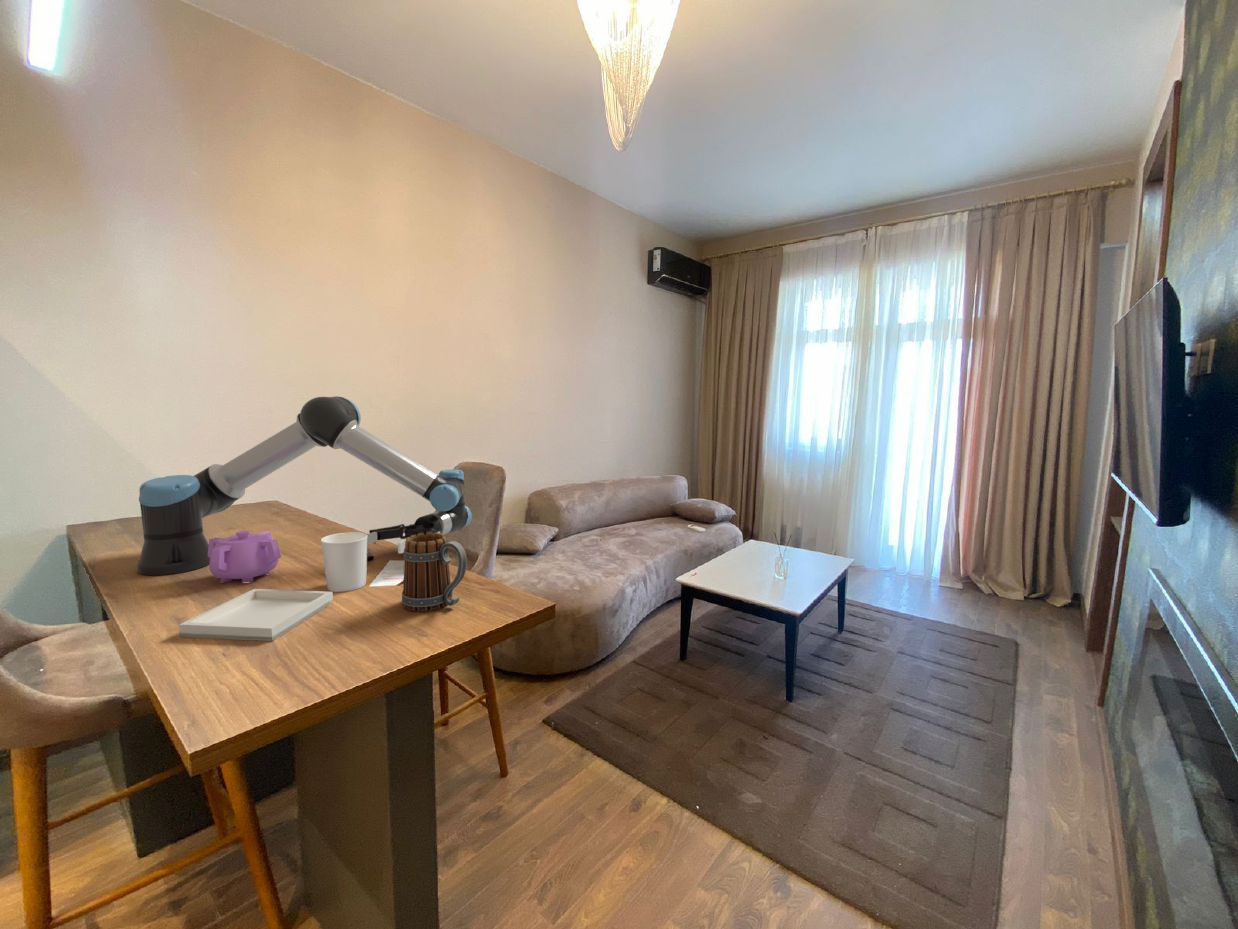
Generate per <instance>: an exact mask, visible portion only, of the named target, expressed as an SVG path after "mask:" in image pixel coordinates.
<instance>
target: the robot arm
mask: <svg viewBox="0 0 1238 929" xmlns="http://www.w3.org/2000/svg"><path fill="white" fill-rule="evenodd" d="M361 418H362V417H361V412H360V409H359V408H358V406H357V405H356V404H355V403H354V402H353V401H352V400H350V399H348V398H345V397H343V396H337V395H336V396H318V397H314V398H312V399H309V400H308V401H307V402H305V404H304V405H303V406H302V408H301V409H300V413H298V414H297V415H296V421H295V422H294V423H292V424H290V425H288V426H287V427H285V428H284V429H282V430H280V431H278V432H277V433H275V434H273V435H271V436H270V437H268V438H267V439H265V440H263V441H262V442H260V443H258V444H257V445H255V446H253V447H251V448H250V449H248V450H247V451H244V452H243V453H241V454H240V455H237V456H236V457H234V458H233V459H231V460H229V461H228V462H226V463H225V464H219V463H215V464H211V465H210V466H208V467H206V468H205V469H203V470H201V471H199V472H198V473H196V474H195V475H191V474H177V475H166V476H164V477H163V476H162V477H155V478H152V479H149V480H147V481H144V482H143V483H142V484H141V485H140V486H139V490H138V492H139V496H138V502H139V506H140V515H141V523H142V532H143V545H142V548H141V551H140V552H141V553H140V556H139V559H138V561H137V564H136V565H137V572H138V573H139V574H140V575H144V576H163V575H171V574H179V573H184V572H189V571H193V570H197V569H201V568H203V567H206V566H208V565H209V566H210V558H209V557H208V547H209V541H208V540H207V538H206V537H205V535H204V534H205V533H204V529H203V525H204V524H203V518H205V517H209V516H211V515H214V514H217V513H222V512H223V511H225V510H227V509H228V508H229V507H231V506H232V505H233V504H234V503H235V502H236V501H238V500H239V499H242V498H243V497H244V496H245V493H246V489H247V488H249V487H251V486H252V485H254V484H256V483H257V482H259V481H261V480H262V479H264V478H265V477H267V476H269V475H271V474H273V473H274V472H276V471H277V470H279V469H280V468H282V467H285V465H287V464H290V462H292V461H294V460H296V459H297V458H299V457H301V456H303V455H304V454H305V453H307V452H309V451H310V450H312V449H314V448H315V447H321V448H326V447H327V446H328V447H330V448H332V449H333V450H339V449H341V450H342V451H345V453H346V452H347V453H348V454H350V456H353V457H355V458H357V459H358V460H360V461H361V462H363V463H364V464H366V465H368V466H369V467H371V468H373V469H375V470H376V471H378V472H380V473H382V474H383V475H385V476H387V477H388V478H389V479H391V480H393V481H395V482H397V483H398V484H400V485H402V486H403V487H405V488H406V489H409V490H410V491H411V492H414V493H415V494H417V495H418V496H420V497H421V498H424V499H425V500H427V501H428V502H430V505H431V506H432V507H433V508H434V509H435V510H436V511H435V512H434V511H433V512H432V513H429V514H425V515H423V516H419V517H418V518H417V519H416V520H415V521H414V523H413V524H408V525H405V523H402V524H398V525H391V526H388V527H387V526H386V527H381V528H375V529H369V530H368V531H369V533H367V535H368V538H367V546H369V545H371V544H377V542H378V541H384V540H391V539H392V540H393V539H400V540H402V541H399V542H398V543H397V554H404V549H405V541H406V538H407V537H410V536H412V535H416V536H417V534H421V533H424V534H425V535H426V533H433V534H435V533H440V534H443V535H444V536H445V535H448V534H451V533H455V532H458V531H460V530H462V529H464V528H465V527H467V526H469V525H470V524H471V522H472V518H473V514H472V512H471V509H470V508H469V506H467V505H466V502H465V477H464V476H465V475H464V470H461V469H443V470H441V471H439V472H438V474H437V473H435V472H434V471H432V470H430V469H429V468H427V467H425V466H424V465H422V464H420V463H419V462H417V461H416V460H415V459H413V458H411V457H410V456H408V455H406V454H405V453H403V452H401V451H399V450H398V449H396V448H395V447H393V446H392V445H390V444H388V443H387V442H385V441H384V440H382V439H380V438H379V437H377V436H375V435H373V434H372V433H370V432H369V431H367V430H365V429H363V428H362V427H360V424H361Z"/></svg>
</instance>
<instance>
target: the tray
mask: <svg viewBox="0 0 1238 929" xmlns="http://www.w3.org/2000/svg"><path fill="white" fill-rule="evenodd" d="M333 593H334V592H333V591H322V590H321V591H320V590H319V591H318V590H299V589H298V590H297V589H296V590H294V589H272V588H271V589H269V588H268V589H267V588H253V589H252V590H249V591H246V592H244V593H242V594H240V595H238V596H236V597H233V598H232V599H230V600H228V601H226V602H224V603H221V604H220V605H216V606H215V607H213V608H210V609H209V610H206V611H204V612H202V613H200V614H199V615H196V616H194V617H192V618H190V619H188V620H186V621H184V622H182V623H180V624H178V626H179V636H180V638H190V639H191V638H194V639H209V640H210V639H212V640H213V639H214V640H234V641H236V640H237V641H255V640H257V642H258V641H260V642H262V641H264V642H273V641H276V640H277V639H278V638H280V637H282V636H284V635H285V634H286V633H288V632H290V631H291V630H292V629H294V628H296V627H297V626H299V625H300V623H301V624H302V623H303V622H305V621H306V619H307V620H308V619H311V616H312V617H313V616H314V614H315V615H316V614H318V613H319V612H321V611H323V610H324V609H326V608H327V607H329V606H330V605H332V604H333V603H334V594H333ZM332 602H333V603H332ZM331 603H332V604H331ZM326 606H327V607H326ZM325 607H326V608H325Z"/></svg>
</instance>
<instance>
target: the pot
mask: <svg viewBox="0 0 1238 929" xmlns="http://www.w3.org/2000/svg"><path fill="white" fill-rule="evenodd" d="M208 545H209V547H208V557H209V558H210V564H209V572H210V573H211V574H212V575H213V576H214V577H215V578H217V579H220V581H219V583H220V582H225V583H229V582H231V581H232V580H240V579H241V583H242V582H251V581H253V580H254V578H257V577H259V576H268V575H267V574H269V573H270V572H271V571H272V570H274V569H276V567H277V565H278V562H279V559H280V558H282V554H281V550H280V547H279V544H278V540H277V539H273V535H272V532H271V531H262V532H260V533H258V534H257V533H250V531H248V530H241V531H238V532H235V535H231V536H229V537H225V538H223V537H213V538H210V539H209V540H208ZM269 575H270V574H269ZM230 580H231V581H230ZM228 581H229V582H228ZM253 582H254V581H253ZM251 583H252V582H251Z"/></svg>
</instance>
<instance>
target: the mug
mask: <svg viewBox="0 0 1238 929" xmlns="http://www.w3.org/2000/svg"><path fill="white" fill-rule="evenodd" d="M405 540H406V541H405ZM405 540H404V541H405V549H404V552H403V560H404V563H403V564H404V566H403V587H402V589H403V590H402V593H401V602H402V606H403V608H405V609H406V610H408V611H411V612H415V613H425V612H426V613H427V612H433V611H437V610H440V609H443V608H445V607H447V606H449V607H452V606H454V605H456V604H457V603H459V601H460V596H456V595H455V596H453V591H454V590H455V588H456V587H458V585H459V584H460V583H461V582H462V580H463V579H464V577H465V574H466V571H467V565H468V562H467V560H468V559H467V553H466V550H465V549H464V547H463V546H462V544H461V543H459V542H458V541H453V540H451V541H448V542H447V539H446V536H445V535H443V534H440V533H435V534H433V533H426V535H425V534H424V533H421V534H417V536H416V535H412V536H410V537H407V538H406V539H405ZM449 549H452V550H454V552H455V553H456V556H457V560H458V566H457V572H456V575H455V577H454V579H453V580H452V581H451V573H450V565H449V564H450V562H451V561H452V559H451V558H450V556H449Z"/></svg>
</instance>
